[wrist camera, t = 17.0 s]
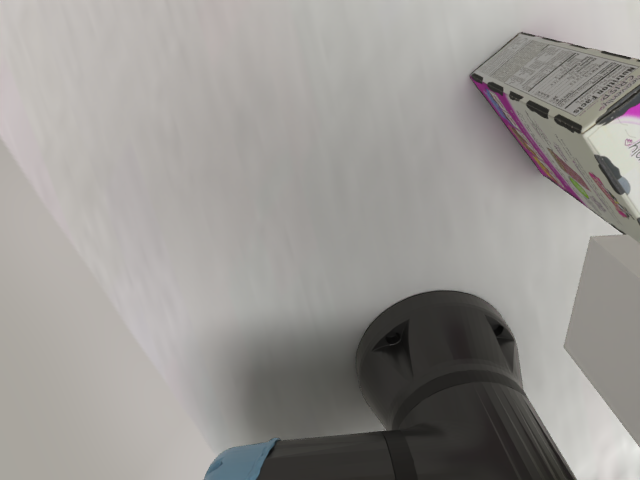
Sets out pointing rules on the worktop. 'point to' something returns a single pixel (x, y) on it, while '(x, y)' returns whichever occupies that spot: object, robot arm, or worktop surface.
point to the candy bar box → (573, 119)
